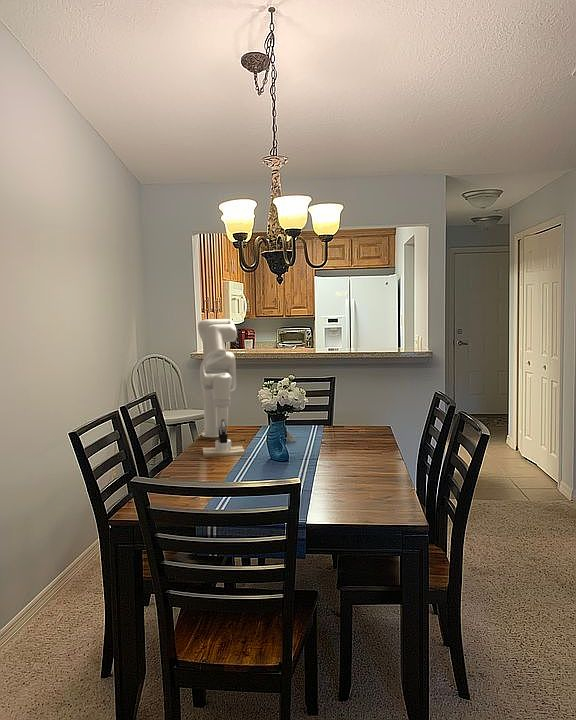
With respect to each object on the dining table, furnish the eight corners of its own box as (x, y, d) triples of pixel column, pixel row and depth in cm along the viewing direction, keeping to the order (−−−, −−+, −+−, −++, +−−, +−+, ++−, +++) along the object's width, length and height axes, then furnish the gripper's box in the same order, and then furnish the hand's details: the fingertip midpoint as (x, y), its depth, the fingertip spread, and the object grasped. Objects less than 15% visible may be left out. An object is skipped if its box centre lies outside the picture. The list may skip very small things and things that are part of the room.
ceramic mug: (275, 444, 310) (275, 428, 309) (272, 440, 318) (272, 425, 317) (297, 443, 312) (297, 427, 311) (293, 439, 320) (293, 424, 319)
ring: (215, 448, 296) (214, 439, 296) (230, 447, 297) (230, 438, 297) (215, 451, 289) (215, 443, 289) (231, 451, 290) (231, 442, 290)
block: (202, 451, 298) (202, 448, 298) (242, 449, 301) (242, 445, 300) (203, 457, 286) (203, 453, 286) (244, 454, 289) (244, 451, 289)
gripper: (212, 400, 299) (213, 436, 301) (214, 406, 282) (215, 445, 284) (228, 399, 300) (229, 436, 302) (231, 405, 283) (232, 444, 285)
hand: (223, 440), depth 293 cm, fingers open, 9 cm apart
